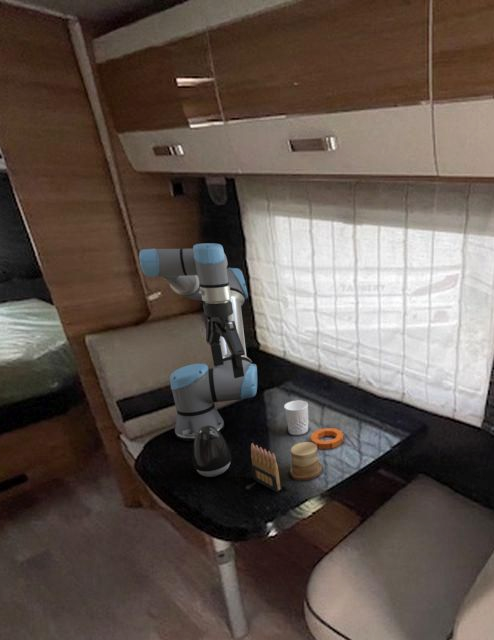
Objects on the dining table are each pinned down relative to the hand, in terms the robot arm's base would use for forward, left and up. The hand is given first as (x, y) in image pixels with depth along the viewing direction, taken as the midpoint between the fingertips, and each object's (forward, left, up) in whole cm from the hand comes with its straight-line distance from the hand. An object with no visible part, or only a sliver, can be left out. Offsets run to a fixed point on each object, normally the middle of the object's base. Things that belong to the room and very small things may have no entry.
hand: (228, 370), depth 126 cm
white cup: (+4, +19, -27) cm, 33 cm away
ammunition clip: (+24, -4, -27) cm, 37 cm away
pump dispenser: (+8, -12, -27) cm, 31 cm away
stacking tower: (+27, +7, -27) cm, 39 cm away
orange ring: (+17, +22, -27) cm, 39 cm away
